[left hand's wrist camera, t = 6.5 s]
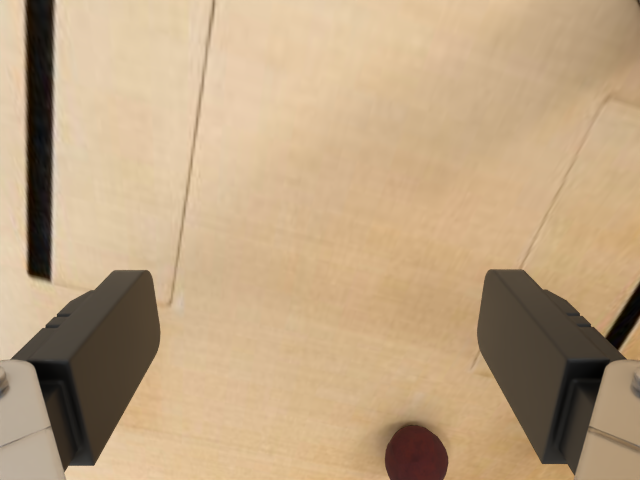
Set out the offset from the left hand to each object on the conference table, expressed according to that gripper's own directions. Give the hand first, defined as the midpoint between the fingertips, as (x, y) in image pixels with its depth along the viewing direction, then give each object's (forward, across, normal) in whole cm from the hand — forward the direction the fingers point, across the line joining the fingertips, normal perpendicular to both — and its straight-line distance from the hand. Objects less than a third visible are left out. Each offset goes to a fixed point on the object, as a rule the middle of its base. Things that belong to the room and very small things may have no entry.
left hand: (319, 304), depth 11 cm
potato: (+34, +11, -38) cm, 53 cm away
